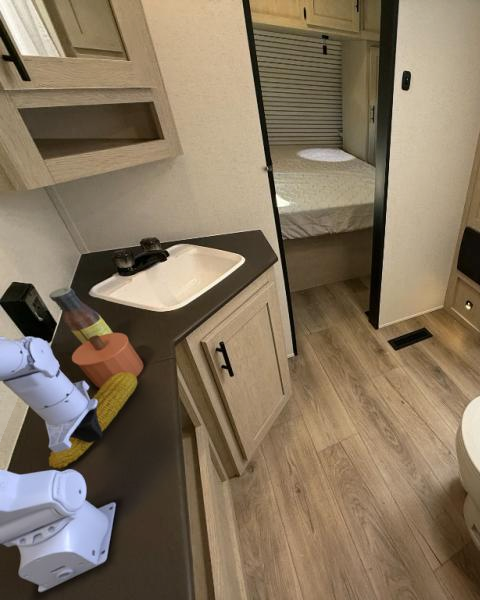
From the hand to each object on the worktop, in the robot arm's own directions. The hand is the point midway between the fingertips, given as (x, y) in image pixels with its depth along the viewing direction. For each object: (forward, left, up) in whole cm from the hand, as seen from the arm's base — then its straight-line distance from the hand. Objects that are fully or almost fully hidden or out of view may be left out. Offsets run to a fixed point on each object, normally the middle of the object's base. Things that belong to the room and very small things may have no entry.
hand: (95, 438), depth 63 cm
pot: (+22, 0, -3) cm, 22 cm away
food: (+7, +1, -3) cm, 7 cm away
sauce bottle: (+32, +4, -3) cm, 33 cm away
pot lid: (+22, 0, +6) cm, 22 cm away
